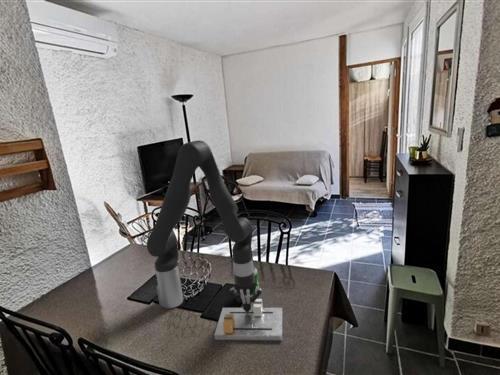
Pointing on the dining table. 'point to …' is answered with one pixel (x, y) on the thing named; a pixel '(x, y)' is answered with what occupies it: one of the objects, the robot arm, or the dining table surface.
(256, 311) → the fader cap cream
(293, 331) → the dining table surface
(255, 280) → the soda can
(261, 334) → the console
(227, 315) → the fader cap orange
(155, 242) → the robot arm
